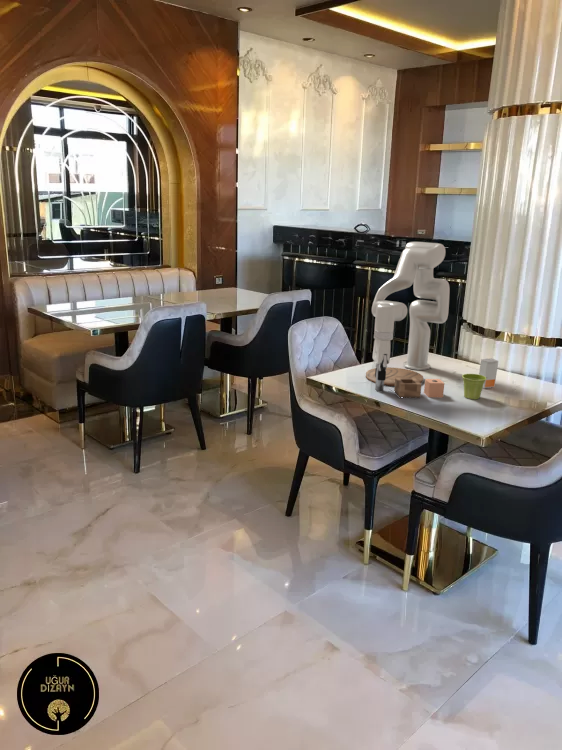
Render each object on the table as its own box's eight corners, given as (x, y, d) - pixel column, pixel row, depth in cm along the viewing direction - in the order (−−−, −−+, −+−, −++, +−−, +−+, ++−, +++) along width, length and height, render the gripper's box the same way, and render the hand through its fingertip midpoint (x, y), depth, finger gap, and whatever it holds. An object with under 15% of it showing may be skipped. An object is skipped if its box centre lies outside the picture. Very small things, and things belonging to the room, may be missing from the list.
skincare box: (483, 388, 262) (487, 361, 258) (477, 385, 265) (480, 359, 262) (495, 387, 264) (498, 360, 260) (488, 384, 268) (492, 358, 264)
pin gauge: (374, 389, 257) (376, 356, 253) (382, 389, 257) (384, 356, 253) (376, 391, 253) (378, 358, 249) (384, 391, 254) (386, 358, 250)
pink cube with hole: (423, 392, 254) (425, 378, 252) (437, 392, 255) (439, 378, 253) (428, 397, 248) (429, 383, 247) (442, 397, 249) (444, 383, 247)
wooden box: (394, 392, 254) (395, 378, 252) (413, 392, 255) (415, 378, 253) (399, 398, 246) (400, 384, 244) (420, 398, 247) (421, 384, 245)
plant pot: (466, 401, 245) (469, 380, 242) (455, 394, 254) (458, 373, 251) (488, 400, 247) (490, 379, 244) (476, 393, 255) (479, 373, 253)
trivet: (430, 377, 277) (430, 373, 277) (412, 391, 256) (412, 387, 256) (377, 368, 289) (378, 364, 288) (356, 381, 268) (357, 377, 268)
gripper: (369, 330, 256) (366, 372, 261) (379, 339, 240) (375, 384, 246) (387, 330, 257) (384, 373, 262) (398, 339, 241) (394, 384, 246)
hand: (380, 378), depth 254 cm, fingers closed on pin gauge, 3 cm apart
